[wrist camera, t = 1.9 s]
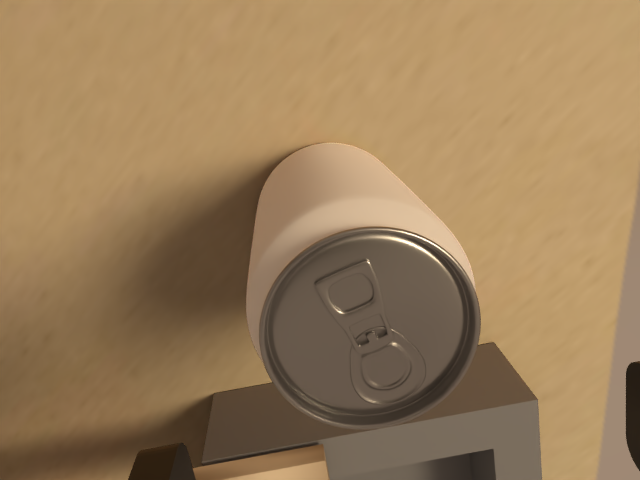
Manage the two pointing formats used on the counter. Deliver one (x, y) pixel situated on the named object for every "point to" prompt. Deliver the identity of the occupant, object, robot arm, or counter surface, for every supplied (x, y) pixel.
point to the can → (357, 292)
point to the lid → (271, 467)
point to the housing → (397, 431)
